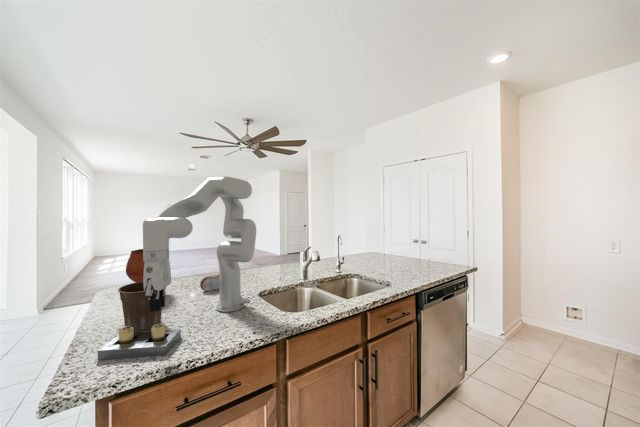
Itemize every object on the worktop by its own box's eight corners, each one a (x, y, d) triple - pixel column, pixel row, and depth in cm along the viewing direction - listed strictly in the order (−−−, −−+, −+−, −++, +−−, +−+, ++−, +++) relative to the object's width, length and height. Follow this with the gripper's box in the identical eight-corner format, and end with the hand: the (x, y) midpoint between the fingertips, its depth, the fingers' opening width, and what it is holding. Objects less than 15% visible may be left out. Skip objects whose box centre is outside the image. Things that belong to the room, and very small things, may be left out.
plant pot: (171, 325, 107) (170, 285, 107) (122, 339, 96) (121, 295, 96) (161, 314, 119) (160, 278, 119) (116, 325, 108) (115, 285, 108)
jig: (180, 337, 97) (180, 318, 97) (165, 355, 85) (165, 333, 85) (121, 341, 95) (121, 321, 94) (97, 360, 83) (97, 337, 83)
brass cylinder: (167, 343, 93) (167, 323, 93) (162, 349, 89) (161, 328, 89) (155, 343, 93) (155, 323, 92) (149, 349, 89) (149, 328, 88)
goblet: (160, 287, 160) (159, 246, 160) (172, 293, 148) (171, 249, 147) (121, 295, 146) (120, 250, 145) (131, 303, 133) (130, 253, 133)
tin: (226, 286, 160) (226, 273, 160) (228, 288, 158) (228, 274, 158) (200, 292, 151) (199, 277, 151) (201, 293, 148) (201, 278, 148)
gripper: (156, 259, 82) (157, 318, 83) (177, 251, 98) (178, 300, 99) (130, 260, 82) (132, 319, 82) (156, 251, 98) (157, 301, 98)
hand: (157, 308), depth 90 cm, fingers open, 2 cm apart
